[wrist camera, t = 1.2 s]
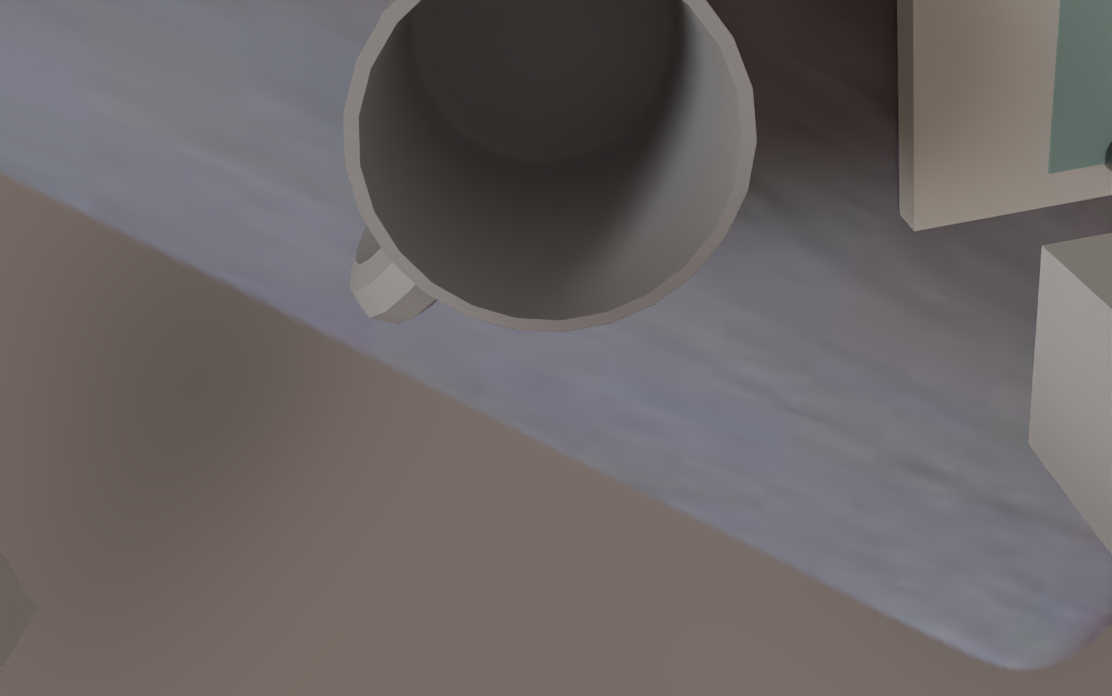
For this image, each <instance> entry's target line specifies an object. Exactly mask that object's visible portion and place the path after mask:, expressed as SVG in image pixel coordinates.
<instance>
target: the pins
mask: <svg viewBox="0 0 1112 696" xmlns="http://www.w3.org/2000/svg"><path fill="white" fill-rule="evenodd" d="M1105 166H1106V167H1107V168H1108V169H1109V170H1110V171H1112V142H1111V143H1110V145H1109V146H1108V148H1107V150H1106V153H1105Z"/></svg>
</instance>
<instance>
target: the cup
mask: <svg viewBox="0 0 1112 696" xmlns="http://www.w3.org/2000/svg"><path fill="white" fill-rule="evenodd" d="M343 123H344V149H345V168H346V171H347V174H348V177H349V180H350V183H351V187H352V190H353V193H354V196H355V199H356V203H357V206H358V209H359V212H360V215H361V217H362V219H363V220H364V222H365V223H366V227H365V230H364V232H363V234H362V237H361V239H360V242H359V245H358V248H357V251H356V255H355V259H354V263H353V267H352V271H351V275H350V284H349V289H350V290H351V292H352V293H353V295H354V296H355V298H356V300H357V301H358V303H359V304H360V306H361V308H362V309H363V311H364V312H365V313H366V314H367V315H368V316H369V317H370V318H372V319H377V320H382V321H387V322H392V323H396V324H400V323H402V322H405V321H407V320H410V319H412V318H414V317H416V316H417V315H419V314H420V313H421V312H423V311H424V310H426V309H427V308H428V307H430V306H431V305H433V304H434V303H435V302H436V301H437V300H439V301H440V302H442V303H444V304H446V305H448V306H449V307H451V308H453V309H455V310H456V311H458V312H460V313H462V314H464V315H465V316H468V317H471V318H475V319H478V320H482V321H485V322H488V323H492V324H495V325H499V326H502V327H506V328H509V329H513V330H529V331H550V332H565V331H571V330H577V329H582V328H588V327H594V326H599V325H605V324H610V323H612V322H615V321H617V320H619V319H622V318H624V317H626V316H629V315H631V314H633V313H636V312H638V311H640V310H643V309H645V308H647V307H650V306H652V305H654V304H656V303H657V302H659V301H660V300H661V299H663V298H664V297H665V296H667V295H668V294H669V293H671V292H672V291H673V290H675V289H676V288H678V287H679V286H680V285H682V284H683V283H684V282H686V281H687V280H688V279H690V278H691V277H692V276H694V275H695V274H696V272H697V271H698V270H699V269H700V268H701V266H702V265H703V264H704V263H705V262H706V260H707V259H708V258H709V257H710V255H711V254H712V253H713V252H714V251H715V249H716V248H717V247H718V246H719V245H720V243H721V242H722V241H723V240H724V239H725V237H726V236H727V233H728V231H729V229H730V227H731V225H732V223H733V221H734V219H735V217H736V215H737V213H738V211H739V208H740V206H741V204H742V202H743V200H744V198H745V196H746V194H747V192H748V187H749V181H750V176H751V171H752V165H753V160H754V154H755V149H756V144H757V134H756V122H755V110H754V98H753V87H752V85H751V82H750V80H749V77H748V74H747V72H746V69H745V66H744V64H743V61H742V59H741V56H740V53H739V51H738V48H737V45H736V43H735V40H734V38H733V36H732V35H731V33H730V32H729V31H728V29H727V28H726V27H725V25H724V24H723V23H722V21H721V20H720V19H719V17H718V16H717V14H716V13H715V12H714V10H713V9H712V8H711V6H710V5H709V4H708V2H707V1H706V0H391V1H390V2H389V4H388V6H387V8H386V9H385V11H384V13H383V15H382V16H381V18H380V20H379V22H378V23H377V25H376V27H375V29H374V30H373V32H372V34H371V36H370V37H369V39H368V41H367V43H366V44H365V46H364V48H363V50H362V52H361V53H360V55H359V57H358V59H357V60H356V63H355V68H354V72H353V76H352V80H351V84H350V88H349V92H348V96H347V100H346V104H345V108H344V112H343Z"/></svg>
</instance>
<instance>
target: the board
mask: <svg viewBox="0 0 1112 696" xmlns="http://www.w3.org/2000/svg"><path fill="white" fill-rule="evenodd" d="M897 47H898V127H899V208H900V215H901V216H902V218H903V219H904V220H905V221H906V222H907V223H908V225H909V226H910V227H911V228H912V229H913V231H919V230H925V229H930V228H935V227H941V226H946V225H952V224H957V223H962V222H968V221H973V220H979V219H984V218H989V217H995V216H1000V215H1006V214H1011V213H1017V212H1022V211H1027V210H1033V209H1038V208H1044V207H1049V206H1054V205H1060V204H1065V203H1071V202H1076V201H1081V200H1087V199H1092V198H1098V197H1103V196H1108V195H1112V171H1110V170H1109V169H1108V168H1107V167H1106V166H1105V153H1106V150H1107V148H1108V146H1109V145H1110V143H1111V142H1112V0H897Z"/></svg>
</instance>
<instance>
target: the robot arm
mask: <svg viewBox="0 0 1112 696" xmlns="http://www.w3.org/2000/svg"><path fill="white" fill-rule="evenodd" d="M1028 444H1029V445H1030V447H1031V448H1032V449H1033V451H1034V452H1035V453H1036V455H1037V456H1038V457H1039V459H1040V460H1041V461H1042V463H1043V464H1044V465H1045V467H1046V468H1047V469H1048V471H1049V472H1050V473H1051V475H1052V476H1053V477H1054V479H1055V480H1056V481H1057V483H1058V484H1059V485H1060V487H1061V488H1062V489H1063V491H1064V492H1065V493H1066V495H1067V496H1068V497H1069V499H1070V500H1071V501H1072V503H1073V504H1074V505H1075V507H1076V508H1077V509H1078V511H1079V512H1080V513H1081V515H1082V516H1083V517H1084V519H1085V520H1086V521H1087V523H1088V524H1089V525H1090V527H1091V528H1092V529H1093V531H1094V532H1095V533H1096V535H1097V536H1098V537H1099V539H1100V540H1101V541H1102V543H1103V544H1104V545H1105V547H1106V548H1107V549H1108V551H1109V552H1110V553H1111V555H1112V233H1108V234H1103V235H1097V236H1092V237H1086V238H1081V239H1075V240H1070V241H1064V242H1058V243H1053V244H1047V245H1042V251H1041V266H1040V281H1039V295H1038V310H1037V325H1036V339H1035V354H1034V369H1033V384H1032V398H1031V413H1030V428H1029V442H1028ZM37 609H38V606H37V605H36V603H35V602H34V600H33V599H32V597H31V595H30V594H29V592H28V591H27V589H26V588H25V586H24V585H23V583H22V581H21V580H20V578H19V577H18V575H17V574H16V572H15V571H14V569H13V568H12V566H11V564H10V563H9V561H8V560H7V558H6V557H5V555H4V554H3V552H2V551H1V549H0V671H1V670H2V668H3V666H4V665H5V663H6V661H7V659H8V658H9V656H10V654H11V653H12V651H13V649H14V648H15V646H16V644H17V643H18V641H19V639H20V637H21V636H22V634H23V632H24V631H25V629H26V627H27V626H28V624H29V622H30V620H31V619H32V617H33V616H34V614H35V612H36V610H37Z"/></svg>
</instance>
